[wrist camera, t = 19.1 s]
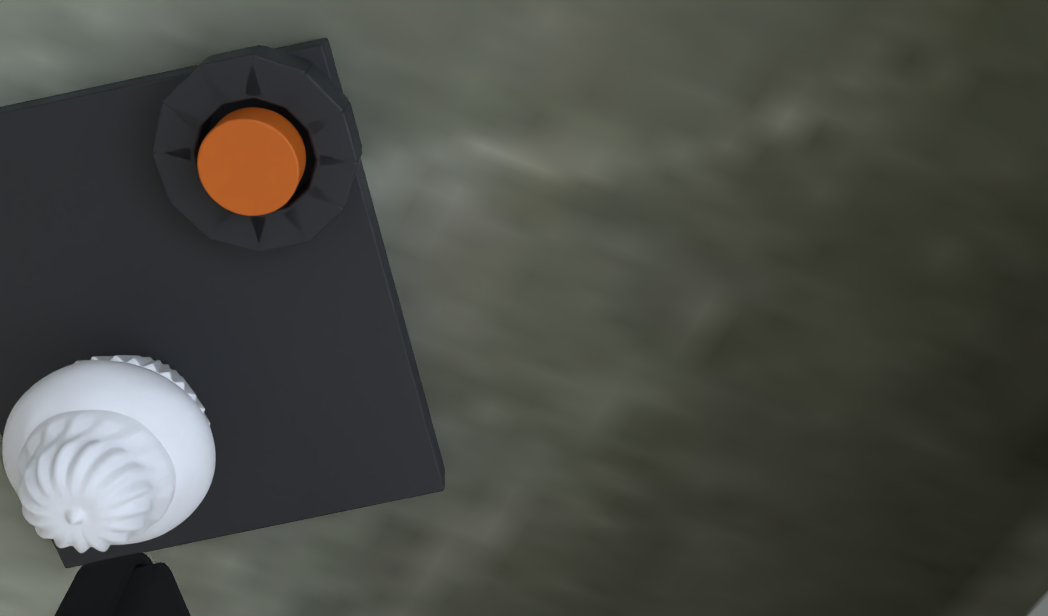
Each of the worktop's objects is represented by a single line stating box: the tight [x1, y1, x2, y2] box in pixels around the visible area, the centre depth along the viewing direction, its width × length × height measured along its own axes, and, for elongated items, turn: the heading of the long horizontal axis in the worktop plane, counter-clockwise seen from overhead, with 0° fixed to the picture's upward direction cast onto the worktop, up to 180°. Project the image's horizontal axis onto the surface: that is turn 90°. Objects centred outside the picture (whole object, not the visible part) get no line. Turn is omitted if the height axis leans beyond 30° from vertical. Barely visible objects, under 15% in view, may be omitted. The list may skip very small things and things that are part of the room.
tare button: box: [197, 107, 306, 216], centre depth 28 cm, size 3×3×2 cm
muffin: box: [2, 355, 216, 553], centre depth 30 cm, size 6×6×7 cm
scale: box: [0, 38, 445, 568], centre depth 32 cm, size 16×14×3 cm
